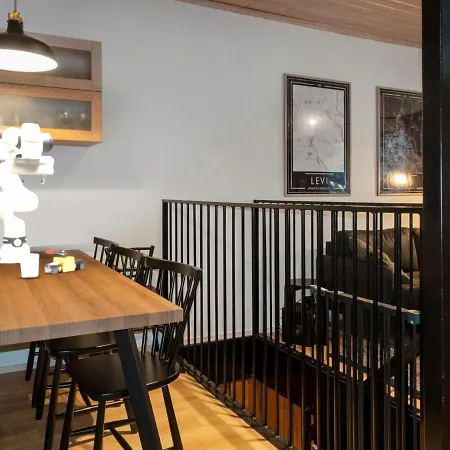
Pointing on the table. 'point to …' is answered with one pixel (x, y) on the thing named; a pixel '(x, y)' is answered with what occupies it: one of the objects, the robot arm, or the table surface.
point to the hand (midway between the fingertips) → (32, 183)
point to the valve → (64, 264)
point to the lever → (56, 252)
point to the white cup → (29, 265)
